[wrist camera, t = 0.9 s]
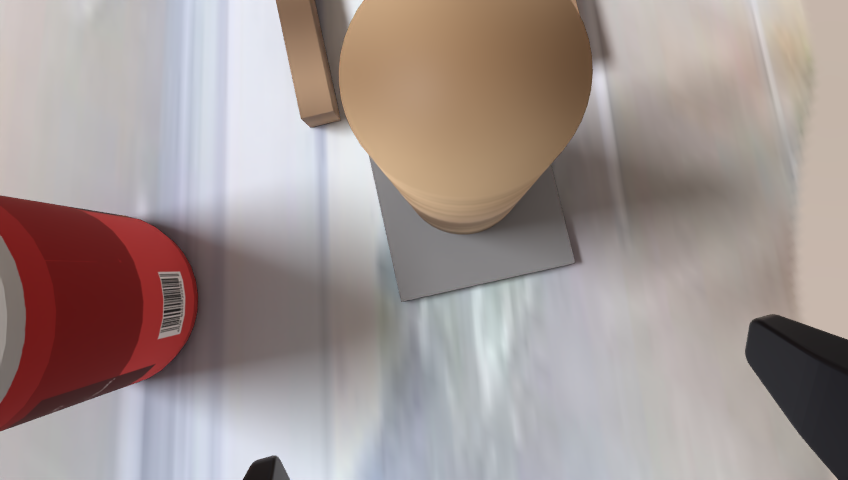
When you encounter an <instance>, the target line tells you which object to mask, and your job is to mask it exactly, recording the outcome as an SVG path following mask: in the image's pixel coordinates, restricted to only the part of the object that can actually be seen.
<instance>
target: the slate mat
mask: <svg viewBox="0 0 848 480" xmlns="http://www.w3.org/2000/svg"><path fill="white" fill-rule="evenodd" d="M369 158H370V162H371V167H372V171H373V176H374V180H375V185H376V189H377V194H378V199H379V203H380V208H381V212H382V217H383V221H384V226H385V230H386V235H387V239H388V244H389V248H390V253H391V257H392V262H393V266H394V271H395V276H396V280H397V285H398V289H399V294H400V298H401V302H403V301H407V300H412V299H416V298H421V297H425V296H430V295H434V294H439V293H443V292H447V291H452V290H456V289H461V288H465V287H470V286H474V285H479V284H483V283H488V282H492V281H497V280H501V279H506V278H510V277H515V276H519V275H524V274H528V273H533V272H537V271H542V270H546V269H550V268H555V267H559V266H564V265H568V264H573V263H575V260H574V256H573V252H572V248H571V244H570V240H569V236H568V232H567V228H566V223H565V219H564V215H563V211H562V207H561V203H560V199H559V195H558V191H557V187H556V183H555V179H554V174H553V170H552V166H551V165H550V166H549V167H548V168H547V169H546V170H545V171H544V173H543V174H542V175H541V176H540V177H539V178H538V180H537V181H536V182H535V183H534V184H533V185H532V186H531V188H530V189H529V190H528V191H527V192H526V193H525V195H524V196H523V197H522V198H521V199H520V200H519V201H518V203H517V204H516V205H515V206H514V207H513V208H512V210H511V211H510V212H509V213H508V214H507V215H506V216H505V217H504V218H503V219H502V220H501V221H500V222H498V223H497V224H495V225H494V226H492V227H491V228H488V229H486V230H484V231H481V232H477V233H473V234H452V233H448V232H444V231H441V230H439V229H437V228H435V227H433V226H431V225H430V224H428V223H427V222H425V221H424V220H423V219H422V218H421V217H420V216H419V215H418V214H417V212H416V211H415V210H414V209H413V208H412V206H411V205H410V204H409V203H408V202H407V200H406V199H405V198H404V197H403V196H402V194H401V193H400V192H399V191H398V189H397V188H396V187H395V186H394V185H393V183H392V182H391V181H390V180H389V179H388V177H387V176H386V175H385V174H384V173H383V171H382V170H381V169H380V168H379V166H378V165H377V164H376V163H375V162H374V160H373V159H372V158H371V157H370V156H369Z"/></svg>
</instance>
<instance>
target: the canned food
mask: <svg viewBox="0 0 848 480" xmlns="http://www.w3.org/2000/svg"><path fill="white" fill-rule="evenodd" d="M197 307H198V292H197V286H196V280H195V277H194V274H193V271H192V268H191V265H190V264H189V262H188V260H187V258H186V257H185V255H184V253H183V252H182V251H181V249H180V248H179V247H178V246H177V245H176V244H175V242H174V241H172V240H171V239H170V238H169V237H167V236H166V235H165V234H164V233H162V232H161V231H160V230H158V229H157V228H156V227H154V226H152V225H150V224H148V223H146V222H144V221H142V220H139V219H135V218H132V217H128V216H123V215H116V214H110V213H104V212H98V211H92V210H86V209H80V208H73V207H67V206H61V205H55V204H49V203H43V202H37V201H30V200H24V199H18V198H12V197H6V196H0V431H3V430H6V429H8V428H11V427H14V426H17V425H20V424H22V423H25V422H28V421H31V420H34V419H36V418H39V417H42V416H45V415H48V414H50V413H53V412H56V411H59V410H61V409H64V408H67V407H70V406H73V405H75V404H78V403H81V402H84V401H87V400H89V399H92V398H95V397H98V396H101V395H103V394H106V393H109V392H112V391H115V390H117V389H120V388H123V387H126V386H129V385H131V384H134V383H137V382H140V381H142V380H145V379H148V378H150V377H151V376H153V375H154V374H156V373H158V372H159V371H161V370H162V369H163V368H164V367H165V366H166V365H167V364H169V363H170V362H171V361H172V360H173V359H174V358H175V356H176V355H177V354H178V353H179V352H180V351H181V349H182V348H183V346H184V345H185V343H186V342H187V340H188V338H189V336H190V334H191V332H192V329H193V327H194V324H195V319H196V315H197Z"/></svg>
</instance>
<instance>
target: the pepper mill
mask: <svg viewBox="0 0 848 480" xmlns="http://www.w3.org/2000/svg"><path fill="white" fill-rule="evenodd" d="M592 74H593V69H592V54H591V48H590V43H589V38H588V35H587V32H586V29H585V26H584V23H583V21H582V19H581V17H580V15H579V13H578V11H577V9H576V8H575V6H574V5H573V3H572V2H571V0H364V1H363V2H362V4H361V5H360V7H359V8H358V10H357V11H356V13H355V15H354V17H353V19H352V21H351V22H350V25H349V27H348V30H347V33H346V35H345V38H344V42H343V46H342V50H341V54H340V63H339V88H340V95H341V101H342V105H343V108H344V112H345V115H346V118H347V120H348V122H349V125H350V127H351V129H352V131H353V133H354V135H355V136H356V138H357V139H358V141H359V143H360V144H361V146H362V147H363V148H364V149H365V151H366V152H367V153H368V154H369V156H370V157H371V158H372V159H373V160H374V162H375V163H376V164H377V165H378V166H379V168H380V169H381V170H382V171H383V173H384V174H385V175H386V176H387V177H388V179H389V180H390V181H391V182H392V183H393V185H394V186H395V187H396V188H397V189H398V191H399V192H400V193H401V194H402V196H403V197H404V198H405V199H406V200H407V202H408V203H409V204H410V205H411V206H412V208H413V209H414V210H415V211H416V212H417V214H418V215H419V216H420V217H421V218H422V219H423V220H424V221H425V222H427V223H428V224H430V225H431V226H433V227H435V228H437V229H439V230H441V231H444V232H448V233H452V234H473V233H477V232H481V231H484V230H486V229H488V228H491V227H492V226H494V225H495V224H497V223H498V222H500V221H501V220H502V219H503V218H504V217H505V216H506V215H507V214H508V213H509V212H510V211H511V210H512V208H513V207H514V206H515V205H516V204H517V203H518V201H519V200H520V199H521V198H522V197H523V196H524V195H525V193H526V192H527V191H528V190H529V189H530V188H531V186H532V185H533V184H534V183H535V182H536V181H537V180H538V178H539V177H540V176H541V175H542V174H543V173H544V171H545V170H546V169H547V168H548V167H549V166H550V165H551V163H552V162H553V161H554V160H555V159H556V158H557V156H558V155H559V154H560V153H561V152H562V151H563V150H564V148H565V147H566V145H567V144H568V143H569V141H570V140H571V138H572V137H573V136H574V134H575V132H576V130H577V128H578V126H579V125H580V123H581V121H582V118H583V115H584V113H585V110H586V108H587V105H588V100H589V96H590V92H591V85H592Z"/></svg>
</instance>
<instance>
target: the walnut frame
mask: <svg viewBox="0 0 848 480" xmlns="http://www.w3.org/2000/svg"><path fill="white" fill-rule="evenodd" d="M571 2H572V3H573V5H574V6H575V8H576V9H577V11H578V7H577V3H576V0H571ZM276 3H277V8H278V13H279V18H280V22H281V27H282V32H283V36H284V41H285V46H286V50H287V55H288V60H289V65H290V69H291V74H292V79H293V83H294V88H295V93H296V97H297V102H298V107H299V112H300V116H301V119H302V120H303V121H304V122H305V123H306V124H307V125H308V126H309V127H310V128H311V127H315V126H319V125H323V124H327V123H331V122H335V121H339V120H341V118H340V114H339V109H338V105H337V100H336V96H335V91H334V86H333V82H332V77H331V73H330V68H329V63H328V59H327V54H326V50H325V45H324V41H323V36H322V31H321V27H320V22H319V18H318V13H317V8H316V4H315V0H276ZM578 13H579V11H578ZM579 15H580V14H579Z"/></svg>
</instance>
